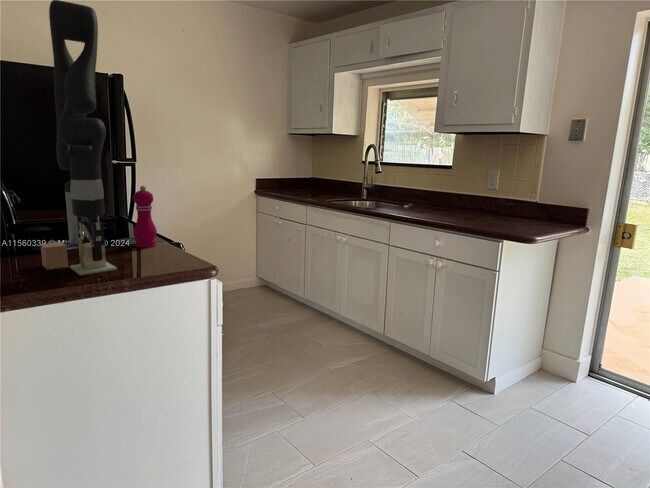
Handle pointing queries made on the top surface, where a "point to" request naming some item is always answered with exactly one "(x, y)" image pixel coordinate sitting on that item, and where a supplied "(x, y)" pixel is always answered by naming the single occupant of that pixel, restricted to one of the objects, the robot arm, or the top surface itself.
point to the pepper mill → (144, 219)
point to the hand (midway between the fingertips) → (92, 257)
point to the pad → (82, 271)
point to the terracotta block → (54, 255)
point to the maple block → (90, 257)
